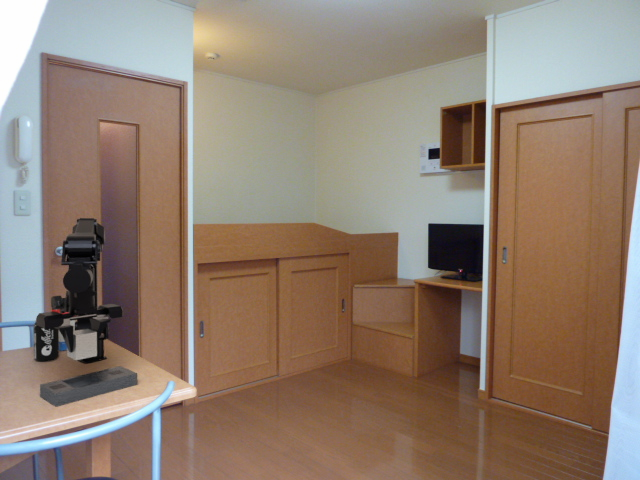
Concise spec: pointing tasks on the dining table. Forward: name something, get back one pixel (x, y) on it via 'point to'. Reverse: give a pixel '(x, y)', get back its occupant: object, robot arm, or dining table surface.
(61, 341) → the ink box
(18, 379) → the dining table surface
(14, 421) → the dining table surface
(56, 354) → the beverage can
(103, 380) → the grey slotted board
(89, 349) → the block
